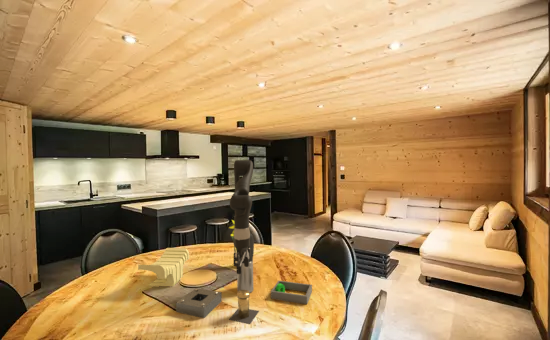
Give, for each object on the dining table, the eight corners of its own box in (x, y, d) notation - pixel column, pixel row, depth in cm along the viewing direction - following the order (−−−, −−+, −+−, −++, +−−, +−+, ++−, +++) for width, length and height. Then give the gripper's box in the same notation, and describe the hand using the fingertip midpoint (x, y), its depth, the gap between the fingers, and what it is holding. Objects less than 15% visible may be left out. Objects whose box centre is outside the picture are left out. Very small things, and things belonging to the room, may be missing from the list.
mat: (239, 308, 133) (238, 307, 133) (259, 311, 129) (259, 310, 129) (228, 320, 122) (228, 319, 122) (249, 324, 119) (249, 323, 119)
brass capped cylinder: (241, 310, 129) (240, 289, 129) (252, 312, 127) (251, 290, 127) (235, 317, 124) (234, 295, 123) (247, 319, 122) (246, 296, 121)
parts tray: (278, 287, 155) (278, 280, 155) (312, 291, 148) (311, 284, 148) (270, 298, 142) (270, 291, 141) (307, 304, 135) (307, 296, 135)
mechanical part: (277, 293, 152) (277, 279, 152) (285, 297, 148) (284, 283, 148) (262, 301, 144) (262, 286, 144) (269, 305, 139) (269, 290, 139)
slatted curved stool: (165, 297, 146) (164, 265, 145) (139, 295, 148) (138, 264, 147) (189, 274, 175) (188, 248, 175) (167, 273, 177) (166, 247, 177)
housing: (196, 298, 144) (195, 287, 144) (221, 302, 139) (221, 291, 139) (176, 313, 129) (176, 301, 129) (204, 319, 124) (204, 306, 123)
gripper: (241, 232, 133) (242, 263, 133) (227, 240, 119) (228, 275, 120) (254, 233, 131) (255, 265, 131) (242, 241, 117) (243, 277, 117)
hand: (242, 270), depth 125 cm, fingers open, 8 cm apart
